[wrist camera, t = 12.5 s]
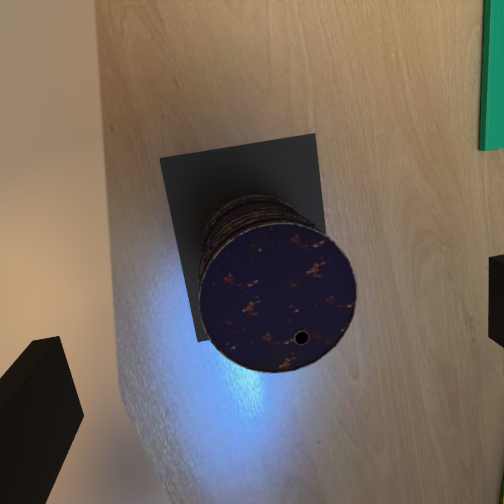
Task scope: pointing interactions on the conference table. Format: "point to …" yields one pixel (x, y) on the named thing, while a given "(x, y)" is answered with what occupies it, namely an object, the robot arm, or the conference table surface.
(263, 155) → the mat
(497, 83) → the sign
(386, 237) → the conference table surface
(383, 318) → the conference table surface
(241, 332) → the rusty barrel
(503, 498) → the book
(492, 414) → the conference table surface
